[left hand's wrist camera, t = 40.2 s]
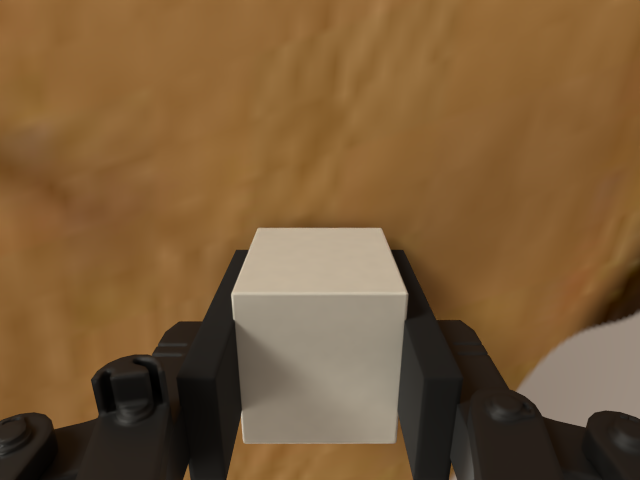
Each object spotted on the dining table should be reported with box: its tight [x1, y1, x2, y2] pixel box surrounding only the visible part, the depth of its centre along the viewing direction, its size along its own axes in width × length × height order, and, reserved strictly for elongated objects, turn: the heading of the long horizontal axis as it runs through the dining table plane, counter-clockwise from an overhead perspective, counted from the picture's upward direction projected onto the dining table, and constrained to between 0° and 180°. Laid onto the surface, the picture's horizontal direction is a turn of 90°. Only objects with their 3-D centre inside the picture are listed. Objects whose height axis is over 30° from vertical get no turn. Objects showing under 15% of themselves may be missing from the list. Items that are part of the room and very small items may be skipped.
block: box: [231, 228, 408, 444], centre depth 13 cm, size 4×5×5 cm
